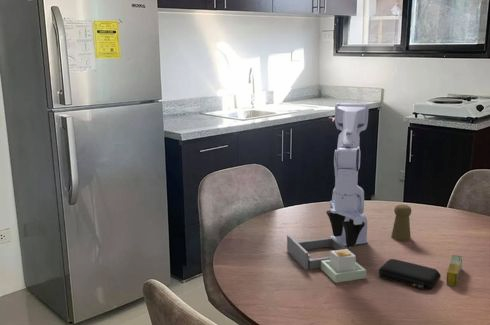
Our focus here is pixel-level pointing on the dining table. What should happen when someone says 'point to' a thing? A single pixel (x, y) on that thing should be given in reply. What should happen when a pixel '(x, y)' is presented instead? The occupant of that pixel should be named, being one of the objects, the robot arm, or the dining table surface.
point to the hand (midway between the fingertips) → (344, 241)
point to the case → (300, 248)
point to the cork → (401, 223)
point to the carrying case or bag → (409, 274)
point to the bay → (343, 276)
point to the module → (342, 260)
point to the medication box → (454, 270)
